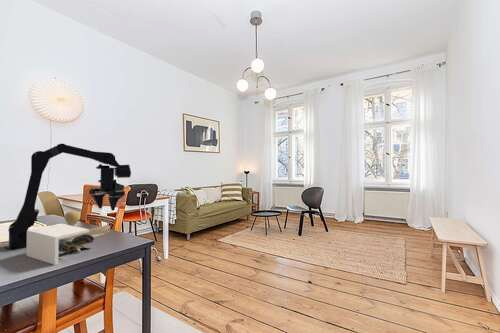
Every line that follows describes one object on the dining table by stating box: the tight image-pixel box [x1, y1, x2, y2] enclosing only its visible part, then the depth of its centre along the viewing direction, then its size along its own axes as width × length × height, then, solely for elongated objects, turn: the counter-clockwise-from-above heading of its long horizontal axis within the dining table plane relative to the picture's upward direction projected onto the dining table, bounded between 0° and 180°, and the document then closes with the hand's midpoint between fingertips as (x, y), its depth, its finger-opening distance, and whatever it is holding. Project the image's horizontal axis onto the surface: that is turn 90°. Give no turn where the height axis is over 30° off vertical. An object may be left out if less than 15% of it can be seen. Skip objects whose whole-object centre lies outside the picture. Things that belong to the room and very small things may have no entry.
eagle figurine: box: [62, 235, 95, 255], centre depth 96 cm, size 8×7×9 cm
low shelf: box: [25, 223, 90, 266], centre depth 92 cm, size 18×12×10 cm, turn 66°
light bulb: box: [64, 210, 81, 227], centre depth 124 cm, size 6×6×10 cm
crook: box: [59, 224, 111, 251], centre depth 111 cm, size 10×24×4 cm, turn 162°
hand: (106, 209), depth 121 cm, fingers open, 9 cm apart
